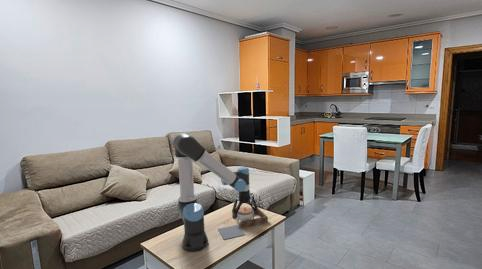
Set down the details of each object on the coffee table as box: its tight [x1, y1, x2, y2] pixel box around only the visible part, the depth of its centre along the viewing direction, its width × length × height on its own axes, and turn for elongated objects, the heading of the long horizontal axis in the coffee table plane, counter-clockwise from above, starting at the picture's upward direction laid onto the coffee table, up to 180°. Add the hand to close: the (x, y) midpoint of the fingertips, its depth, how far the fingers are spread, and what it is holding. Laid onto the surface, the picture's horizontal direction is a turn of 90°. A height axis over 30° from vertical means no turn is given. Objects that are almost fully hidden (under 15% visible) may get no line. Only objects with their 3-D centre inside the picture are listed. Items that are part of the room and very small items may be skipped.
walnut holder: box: [231, 206, 269, 229], centre depth 189 cm, size 20×17×4 cm
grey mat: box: [217, 224, 246, 241], centre depth 173 cm, size 14×14×1 cm
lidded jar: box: [238, 206, 253, 222], centre depth 187 cm, size 11×11×9 cm
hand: (245, 220), depth 188 cm, fingers closed on lidded jar, 11 cm apart
